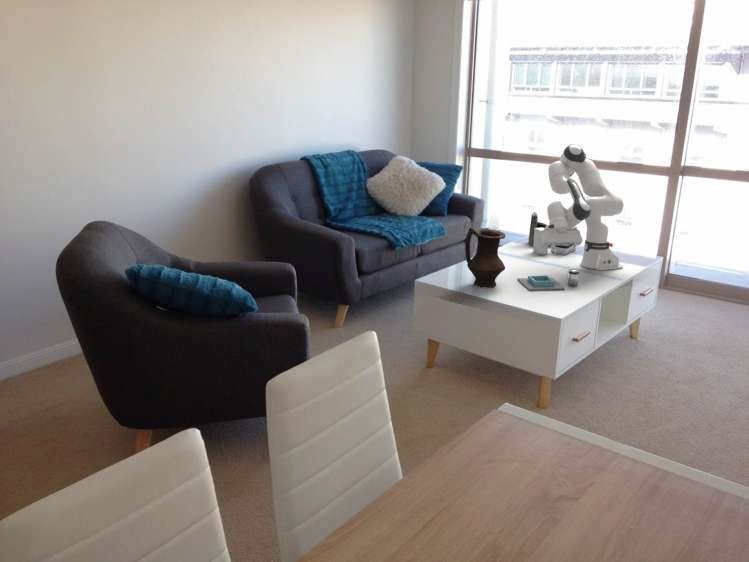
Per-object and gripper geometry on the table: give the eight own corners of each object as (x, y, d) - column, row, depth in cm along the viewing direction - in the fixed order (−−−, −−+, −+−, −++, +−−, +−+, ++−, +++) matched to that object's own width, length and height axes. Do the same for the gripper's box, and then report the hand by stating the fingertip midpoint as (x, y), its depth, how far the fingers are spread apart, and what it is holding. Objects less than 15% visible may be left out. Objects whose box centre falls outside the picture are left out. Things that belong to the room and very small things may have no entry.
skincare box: (547, 254, 389) (550, 230, 384) (538, 254, 387) (540, 230, 383) (541, 251, 396) (543, 227, 392) (532, 251, 395) (534, 227, 391)
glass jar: (575, 284, 332) (576, 268, 330) (579, 287, 327) (581, 271, 325) (565, 284, 331) (567, 269, 329) (569, 287, 327) (571, 271, 324)
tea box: (567, 254, 389) (569, 230, 384) (550, 252, 394) (553, 228, 390) (574, 249, 401) (577, 225, 397) (558, 247, 406) (561, 223, 402)
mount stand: (551, 279, 339) (551, 273, 338) (564, 290, 322) (565, 283, 321) (517, 280, 337) (517, 273, 336) (529, 291, 320) (529, 284, 319)
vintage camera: (553, 248, 406) (557, 216, 400) (528, 245, 408) (532, 214, 403) (552, 244, 415) (556, 213, 409) (527, 242, 417) (531, 211, 412)
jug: (493, 278, 340) (497, 221, 331) (510, 288, 323) (514, 229, 314) (456, 280, 335) (459, 223, 326) (470, 291, 318) (474, 231, 309)
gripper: (576, 231, 347) (582, 254, 341) (539, 232, 345) (544, 255, 339) (581, 225, 342) (586, 248, 335) (543, 225, 339) (548, 248, 333)
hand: (565, 251), depth 337 cm, fingers open, 8 cm apart
